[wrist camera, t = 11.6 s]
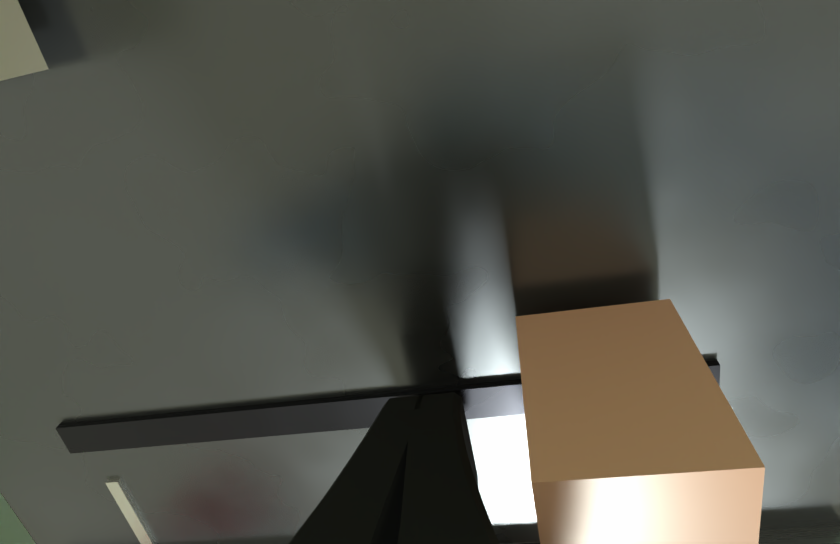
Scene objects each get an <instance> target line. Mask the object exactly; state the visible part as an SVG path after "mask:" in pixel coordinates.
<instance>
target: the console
mask: <svg viewBox="0 0 840 544" xmlns="http://www.w3.org/2000/svg"><path fill="white" fill-rule="evenodd" d="M18 2H19V4H20V6H21V9H22V11H23V13H24V15H25V18H26V20H27V22H28V24H29V26H30V29H31V31H32V33H33V35H34V38H35V40H36V42H37V44H38V46H39V49H40V51H41V53H42V55H43V57H44V60H45V62H46V64H47V66H48V70H44V71H39V72H35V73H31V74H27V75H23V76H19V77H14V78H10V79H6V80H2V81H0V492H1V494H2V495H3V497H4V498H5V500H6V501H7V503H8V504H9V505H10V507H11V508H12V510H13V511H14V513H15V514H16V515H17V517H18V518H19V520H20V521H21V523H22V524H23V525H24V527H25V528H26V530H27V531H28V533H29V534H30V535H31V537H32V538H33V540H34V541H35V543H36V544H288V543H289V542H290V541H291V539H292V538H293V537H294V535H295V534H296V533H297V531H298V530H299V529H300V528H301V526H302V525H303V524H304V522H305V521H306V520H307V518H308V517H309V516H310V514H311V513H312V512H313V511H314V509H315V508H316V507H317V505H318V504H319V503H320V501H321V500H322V499H323V497H324V496H325V494H326V493H327V492H328V490H329V489H330V487H331V486H332V484H333V483H334V481H335V480H336V479H337V477H338V476H339V474H340V473H341V471H342V470H343V468H344V467H345V465H346V464H347V463H348V461H349V460H350V458H351V457H352V455H353V453H354V452H355V450H356V449H357V447H358V446H359V444H360V443H361V441H362V440H363V438H364V436H365V435H366V433H367V432H368V430H369V428H370V427H371V425H372V424H373V422H374V420H375V419H376V417H377V416H378V414H379V412H380V411H381V409H382V408H383V406H384V404H385V403H386V402H387V401H388V400H389V398H398V397H409V396H419V395H430V394H440V393H451V392H455V393H456V394H458V395H459V396H461V397H462V401H463V406H464V411H465V416H466V420H467V425H468V430H469V435H470V440H471V445H472V450H473V455H474V460H475V465H476V470H477V475H478V489H479V492H480V495H481V498H482V501H483V503H484V506H485V509H486V511H487V514H488V516H489V519H490V521H491V524H492V526H493V529H494V531H495V534H496V536H497V539H498V541H499V543H500V544H540V538H539V531H538V525H537V518H536V511H535V505H534V498H533V491H532V484H531V475H530V464H529V454H528V444H527V433H526V423H525V412H524V402H523V391H522V381H521V370H520V360H519V349H518V339H517V328H516V318H515V316H524V315H533V314H541V313H550V312H559V311H568V310H576V309H585V308H594V307H603V306H611V305H620V304H629V303H638V302H646V301H655V300H664V299H670V300H671V301H672V303H673V305H674V307H675V309H676V310H677V312H678V314H679V316H680V317H681V319H682V321H683V323H684V324H685V326H686V328H687V330H688V332H689V333H690V335H691V337H692V339H693V340H694V342H695V344H696V346H697V348H698V349H699V351H700V353H701V355H702V356H703V358H704V360H705V362H706V363H707V365H708V367H709V369H710V371H711V372H712V374H713V376H714V378H715V379H716V381H717V383H718V385H719V386H720V388H721V390H722V392H723V394H724V395H725V397H726V399H727V401H728V402H729V404H730V406H731V408H732V410H733V411H734V413H735V415H736V417H737V418H738V420H739V422H740V424H741V425H742V427H743V429H744V431H745V433H746V434H747V436H748V438H749V440H750V441H751V443H752V445H753V447H754V448H755V450H756V452H757V454H758V456H759V457H760V459H761V461H762V463H763V464H764V466H765V475H764V486H763V497H762V509H761V520H760V531H759V543H758V544H840V0H18Z"/></svg>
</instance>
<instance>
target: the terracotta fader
mask: <svg viewBox="0 0 840 544" xmlns="http://www.w3.org/2000/svg"><path fill="white" fill-rule="evenodd" d="M515 318H516V328H517V339H518V349H519V360H520V370H521V381H522V391H523V402H524V412H525V423H526V433H527V444H528V454H529V464H530V475H531V484H532V491H533V498H534V505H535V511H536V518H537V525H538V531H539V538H540V544H758V543H759V531H760V520H761V509H762V497H763V486H764V475H765V466H764V464H763V463H762V461H761V459H760V457H759V456H758V454H757V452H756V450H755V448H754V447H753V445H752V443H751V441H750V440H749V438H748V436H747V434H746V433H745V431H744V429H743V427H742V425H741V424H740V422H739V420H738V418H737V417H736V415H735V413H734V411H733V410H732V408H731V406H730V404H729V402H728V401H727V399H726V397H725V395H724V394H723V392H722V390H721V388H720V386H719V385H718V383H717V381H716V379H715V378H714V376H713V374H712V372H711V371H710V369H709V367H708V365H707V363H706V362H705V360H704V358H703V356H702V355H701V353H700V351H699V349H698V348H697V346H696V344H695V342H694V340H693V339H692V337H691V335H690V333H689V332H688V330H687V328H686V326H685V324H684V323H683V321H682V319H681V317H680V316H679V314H678V312H677V310H676V309H675V307H674V305H673V303H672V301H671V300H670V299H664V300H655V301H646V302H638V303H629V304H620V305H611V306H603V307H594V308H585V309H576V310H568V311H559V312H550V313H541V314H533V315H524V316H515Z"/></svg>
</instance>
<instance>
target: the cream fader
mask: <svg viewBox="0 0 840 544" xmlns="http://www.w3.org/2000/svg"><path fill="white" fill-rule="evenodd" d="M44 70H48V66H47V64H46V62H45V60H44V57H43V55H42V53H41V51H40V49H39V46H38V44H37V42H36V40H35V38H34V35H33V33H32V31H31V29H30V26H29V24H28V22H27V20H26V18H25V15H24V13H23V11H22V9H21V6H20V4H19V2H18V0H0V81H2V80H6V79H10V78H14V77H19V76H23V75H27V74H31V73H35V72H39V71H44Z"/></svg>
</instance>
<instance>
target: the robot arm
mask: <svg viewBox="0 0 840 544" xmlns="http://www.w3.org/2000/svg"><path fill="white" fill-rule="evenodd" d="M288 544H500V543H499V541H498V539H497V536H496V534H495V531H494V529H493V526H492V524H491V521H490V519H489V516H488V514H487V511H486V509H485V506H484V503H483V501H482V498H481V495H480V492H479V489H478V475H477V470H476V465H475V460H474V455H473V450H472V445H471V440H470V435H469V430H468V425H467V420H466V416H465V411H464V406H463V401H462V397H461V396H459V395H458V394H456V393H455V392H451V393H440V394H430V395H419V396H409V397H398V398H389V400H388V401H387V402H386V403H385V404H384V406H383V408H382V409H381V411H380V412H379V414H378V416H377V417H376V419H375V420H374V422H373V424H372V425H371V427H370V428H369V430H368V432H367V433H366V435H365V436H364V438H363V440H362V441H361V443H360V444H359V446H358V447H357V449H356V450H355V452H354V453H353V455H352V457H351V458H350V460H349V461H348V463H347V464H346V465H345V467H344V468H343V470H342V471H341V473H340V474H339V476H338V477H337V479H336V480H335V481H334V483H333V484H332V486H331V487H330V489H329V490H328V492H327V493H326V494H325V496H324V497H323V499H322V500H321V501H320V503H319V504H318V505H317V507H316V508H315V509H314V511H313V512H312V513H311V514H310V516H309V517H308V518H307V520H306V521H305V522H304V524H303V525H302V526H301V528H300V529H299V530H298V531H297V533H296V534H295V535H294V537H293V538H292V539H291V541H290V542H289V543H288Z"/></svg>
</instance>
